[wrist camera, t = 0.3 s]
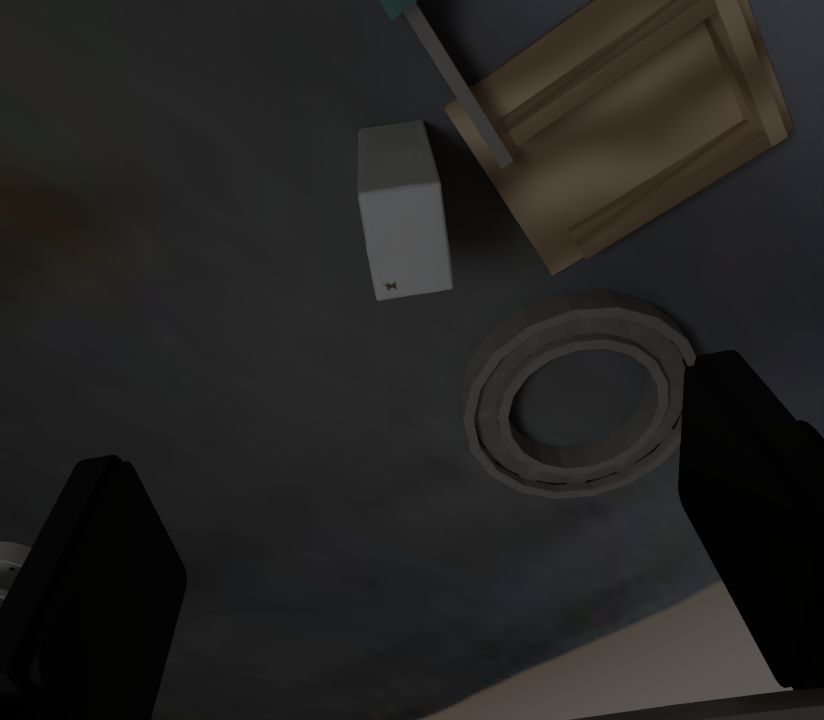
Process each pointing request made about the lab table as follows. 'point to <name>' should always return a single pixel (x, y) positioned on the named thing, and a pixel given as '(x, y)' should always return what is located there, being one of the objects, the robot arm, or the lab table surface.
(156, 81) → the lab table surface
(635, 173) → the rest
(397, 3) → the gate
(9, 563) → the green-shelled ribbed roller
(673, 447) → the mechanical component
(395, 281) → the skincare box
